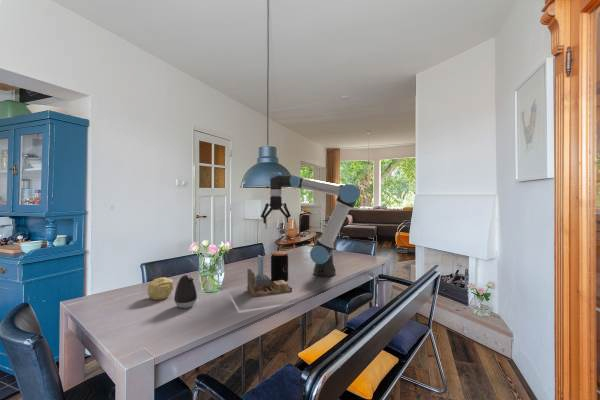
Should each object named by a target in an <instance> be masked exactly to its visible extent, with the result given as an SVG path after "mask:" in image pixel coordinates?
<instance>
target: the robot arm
mask: <svg viewBox="0 0 600 400" xmlns="http://www.w3.org/2000/svg"><path fill="white" fill-rule="evenodd" d="M269 176H270V178H269V189H270V190H269V195H270V197H269V201H270V203H265V205H264V209H263V210H262V213H261V215H260V218H262V219H263V220H262V221H263V224H264V229H266V230H267V229H268V218H267V217H268V216H269V215H270V213H271V212H273V211H280V213H281V214H282V215H283V216H284V223H283V224H284V226H283V227H284V228H286V229H287V228H288V227H287V226H288V223H289V218H290V217H291V213H290V211H289V209H288V207H287V206H288V205H287V203H286V202H284V203H282V201H283V200H282V198H283V197H282V192H283V191H282V188H284V187H286V188H297V189H302V190H307V191H311V192H316V193H322V194H326V195H331V196H336V200H335V201H336V205H335V206H334V209H333V210H332V213H331V216H330V218H329V219H328V222H327V224H326V226H325V228H324V230H323V232H322V234H321V236H320V237H319V238H317V239H316V240H315V243H314V245H313V247H312V248H311V250H310V252H309V255H310V259H311V260H312V262H314V267H313V271H312V273H313V275H314V276H317V277H334V276H335V275H336V267H335V263H334V248H335V246H334V243H335V241H336V239H337V237H338V234H339V232H340V230H341V228H342V226H343V224H344V223H345V219H346V218H347V216H348V214H349V212H350V210H353V209H354V207H355V205H356V203H357V200H359V198H360V197H361V190H360V188H359V186H357V185H356V184H354V183H351V182H348V183H345V184H344V183H340V184H336V183H332V182H326V181H322V180H316V179H312V178H308V177H307V178H306V177H301V176H300V175H297V174H290V175H288V174H287V175H283V173H282V172H276V171H275V172H274V171H273V172H271V173H270V174H269ZM268 207H270V208H269V209H268ZM282 207H283V208H284V210H283V208H282ZM267 210H268V211H267Z"/></svg>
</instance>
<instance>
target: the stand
mask: <svg viewBox="0 0 600 400" xmlns="http://www.w3.org/2000/svg"><path fill="white" fill-rule="evenodd" d="M267 285H271V277H269V276H268V275H267V274H265V273H263V279H260V278H259V277H258V274H255V287H259V286H267Z"/></svg>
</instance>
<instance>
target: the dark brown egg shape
mask: <svg viewBox="0 0 600 400" xmlns="http://www.w3.org/2000/svg"><path fill="white" fill-rule="evenodd" d="M197 299H198V293H197V288H196V284H195V282H194V278H192V277H191V276H190V275H188V274H184V275H181V276H180V278H179V280H178V282H177V285H176V287H175V292H174V302H175V306H177V307H178V308H180V309H188V308H191V307H192V306H194V305H195V304H196V301H197Z"/></svg>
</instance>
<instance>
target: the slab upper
mask: <svg viewBox="0 0 600 400" xmlns="http://www.w3.org/2000/svg"><path fill="white" fill-rule="evenodd" d="M272 285H274V286H275V287H277V288H278V289H279V288H285V287H288V285H289V283H288V282H287V281H286V282H285V281H284V280H278V281H272Z"/></svg>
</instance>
